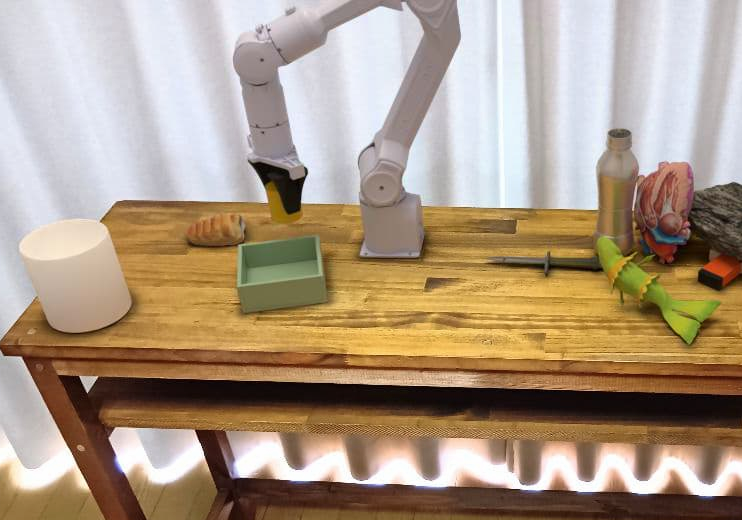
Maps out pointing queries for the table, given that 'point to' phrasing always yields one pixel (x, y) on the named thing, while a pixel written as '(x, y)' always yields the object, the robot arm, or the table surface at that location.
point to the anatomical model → (664, 208)
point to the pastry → (217, 230)
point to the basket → (281, 274)
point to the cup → (76, 275)
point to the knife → (553, 261)
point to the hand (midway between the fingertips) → (285, 205)
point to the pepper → (279, 207)
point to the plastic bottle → (616, 191)
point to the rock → (719, 218)
